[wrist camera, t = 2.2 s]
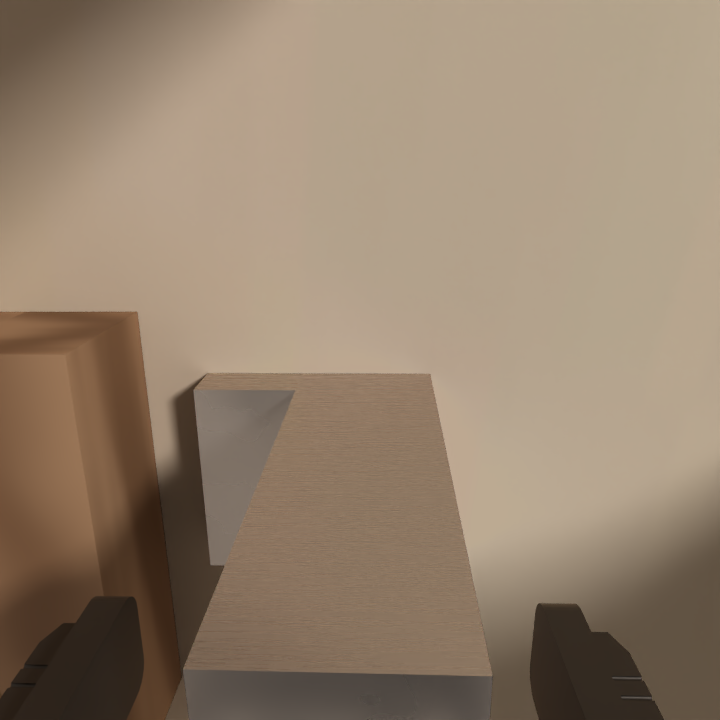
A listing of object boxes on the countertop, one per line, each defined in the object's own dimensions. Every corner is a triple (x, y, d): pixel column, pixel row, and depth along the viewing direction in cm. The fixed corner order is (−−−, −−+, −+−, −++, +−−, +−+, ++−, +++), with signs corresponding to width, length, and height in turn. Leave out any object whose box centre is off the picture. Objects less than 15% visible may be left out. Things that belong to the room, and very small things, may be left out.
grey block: (430, 373, 19) (492, 676, 8) (426, 541, 21) (472, 984, 10) (207, 373, 20) (-42, 663, 8) (222, 538, 21) (34, 965, 10)
